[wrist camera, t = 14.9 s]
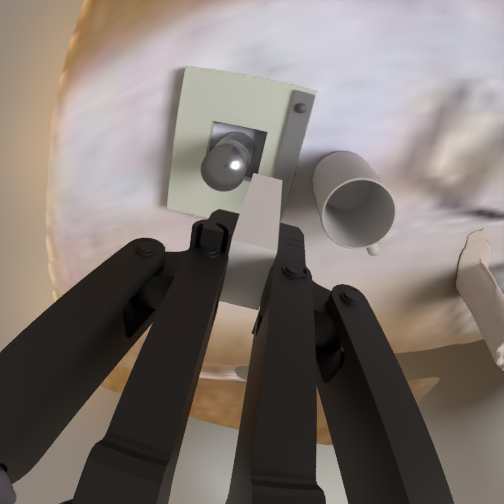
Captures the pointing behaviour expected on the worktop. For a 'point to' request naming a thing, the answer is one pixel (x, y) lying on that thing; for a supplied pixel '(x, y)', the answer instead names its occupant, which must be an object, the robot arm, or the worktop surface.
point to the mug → (353, 202)
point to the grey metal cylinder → (228, 162)
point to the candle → (482, 293)
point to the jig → (242, 114)
